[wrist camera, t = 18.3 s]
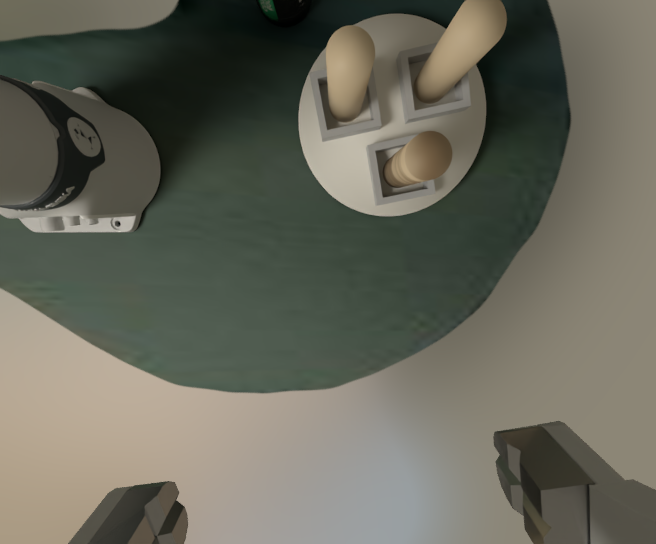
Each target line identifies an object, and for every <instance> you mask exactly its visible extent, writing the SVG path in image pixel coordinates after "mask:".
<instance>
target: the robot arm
mask: <svg viewBox="0 0 656 544" xmlns="http://www.w3.org/2000/svg"><path fill="white" fill-rule="evenodd" d="M159 181H160V160H159V155H158V152H157V149H156V146H155V144H154V142H153V140H152V138H151V136H150V135H149V133H148V132H147V131H146V129H145V128H144V127H143V126H142V125H141V124H140V123H139V122H138V121H137V120H136V119H134V118H133V117H132V116H130V115H129V114H127V113H125V112H123V111H121V110H119V109H116V108H114V107H112V106H110V105H108V104H106V103H105V102H104V101H103V100H102V99H101V98H100V97H99V96H98V95H97V94H96V93H95V92H93V91H92V90H90V89H87V88H84V87H78V88H76V89H74V90H72V91H70V90H67V89H64V88H61V87H57V86H54V85H51V84H48V83H45V82H41V81H33V82H32V84H29V83H26V82H24V81H21V80H17V79H14V78H13V79H12V78H9V77H5V76H2V75H0V214H1V215H3V216H4V217H7V218H19V219H20V220H21V222H22V223H23V224H24V225H25V226H26V227H28V228H29V229H30V230H31V231H33V232H133V231H135V230H136V229H137V227H138V225H139V222H140V218H141V214H142V212H143V210H144V209H145V207H146V206H147V205H148V204H149V202H150V201H151V200H152V198H153V197H154V195H155V193H156V191H157V188H158V185H159ZM118 221H119V222H120V223H121V225H120V226H119V225H118ZM494 446H495V448H496V449H497V451H498V452H499V454H500V456H499V457H498V459H497V460H496V467H497V474H498V477H499V480H500V483H501V487H502V489H503V491H504V493H505V495H506V497H507V499H508V501H509V503H510V504H511V506H512V508H513V509H514V510H516V511H517V512H519V513H520V514H521V515H523V516H524V525H525V530H526V532H527V533H528V535H529V537H530V539H531V540H532V542H533V543H534V544H656V490H655V489H652V488H650V487H648V486H646V485H643V484H642V483H639V482H637V481H635V480H624V479H623V478H622V477H621V476H620V475H619V474H618V473H617V472H616V471H615V470H614V469H613V468H612V467H611V466H610V465H608V464H607V463H606V462H605V461H604V460H603V459H602V458H601V457H600V456H599V455H598V454H597V453H596V452H595V451H593V450H592V449H591V448H590V447H589V446H588V445H587V444H586V443H585V442H584V441H583V440H582V439H581V438H580V437H579V436H578V435H577V434H575V433H574V432H573V431H572V430H571V429H570V428H569V427H568V426H567V425H566V424H565V423H563V422H560V421H556V422H550V423H545V424H539V425H537V426H536V425H534V426H528V427H521V428H515V429H509V430H503V431H497V432H495V433H494ZM178 494H179V491H178V489H177V486H176V484H175V482H169V481H168V482H159V483H151V484H143V485H135V486H131V487H122V488H116V489H114V490H112V491H111V492H109V493H108V494H107V495H106V497H105V498H104V499H103V500H102V502H101V503H100V504H99V505H98V507H97V508H96V509H95V511H94V512H93V513H92V514H91V516H90V517H89V518H88V519H87V521H86V522H85V523H84V524H83V526H82V527H81V528H80V529H79V531H78V532H77V533H76V535H75V536H74V537H73V538H72V540H71V541H70V542H69V543H68V544H184V541H185V539H186V533H187V528H188V520H187V519H188V518H187V512H186V510H185V507H184V506H183V505H181V504H180V503H179V502H178V501H176V499H177V497H178Z"/></svg>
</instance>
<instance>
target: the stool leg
mask: <svg viewBox="0 0 656 544" xmlns="http://www.w3.org/2000/svg"><path fill="white" fill-rule="evenodd" d="M451 161H452V147H451V144H450V142H449V141H448V139H447V138H446V137H445V136H444V135H443V134H441V133H439V132H436V131H425V132H422V133H420V134H418V135H417V136H415V137H414V138H413V139H412V140H411V141H409V142H408V143H407V144H406V145H405V146H404V147H402V148H401V149H400V150H399V151H398V152H396V153H395V154H394V155H393V156H392V157H391V158H389V159H388V160H387V161H386V163H385V164H384V167H383V172H382V173H383V178H384V180H385V182H386V183H387V184H388V185H389V186H391V187H394V188H401V187H405V186H409V185H413V184H417V183H421V182H425V181H429V180H433V179H436V178H438V177H440V176H441V175H443V174H444V173H445V172H446V170H447V169H448V168H449V166H450V164H451Z"/></svg>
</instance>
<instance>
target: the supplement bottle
mask: <svg viewBox="0 0 656 544" xmlns="http://www.w3.org/2000/svg"><path fill="white" fill-rule="evenodd" d="M256 2H257V4H258V7H259V9H260V11H261V13H262V14H263V16H264V17H265V18H266V19H267V20H268V21H269V22H271V23H272V24H274V25H276V26H280V27H290V26H293V25H296V24H297V23H299V22H300V21H301V20H302V19H303V18H304V17H305V16H306V15H307V13H308V11H309V9H310V6H311V2H312V0H256Z"/></svg>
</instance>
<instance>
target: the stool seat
mask: <svg viewBox="0 0 656 544" xmlns="http://www.w3.org/2000/svg"><path fill="white" fill-rule="evenodd" d="M506 22H507V15H506V10H505V7H504V5H503V3H502V2H501V1H500V0H466V1H465V2H464V3H463V4H462V6H461V7H460V9H459V10H458V12H457V13H456V15H455V16H454V18H453V20H452V21H451V23H450V24H449V26H448V28H447V29H445V28H444V27H442V26H441V25H439V24H437V23H435V22H433V21H431V20H428V19H426V18H422V17H419V16H415V15H408V14H385V15H379V16H375V17H372V18H369V19H365V20H363V21H361V22H359V23H357V24H355V25H349V26H344V27H342V28H340V29H338V30H337V31H336V32H334V34H333V35H332V36H331V37H330V39H329V41H328V44H327V47H326V48H325V49H324V50H323V51H322V52H321V54H320V55H319V57H318V58H317V60H316V61H315V63H314V64H313V66H312V68H311V70H310V72H309V74H308V76H307V79H306V82H305V84H304V87H303V90H302V95H301V99H300V105H299V115H298V118H299V134H300V141H301V145H302V149H303V153H304V155H305V158H306V160H307V163H308V165H309V167H310V169H311V171H312V172H313V174H314V176H315V177H316V179H317V180H318V181H319V183H320V184H321V185H322V187H323V188H324V189H325V190H326V191H327V192H328V193H329V194H330V195H331V196H333V197H334V198H335V199H336V200H338V201H339V202H341V203H342V204H344V205H346V206H347V207H349V208H352V209H354V210H356V211H359V212H363V213H366V214H370V215H377V216H398V215H405V214H409V213H413V212H416V211H419V210H421V209H424V208H426V207H428V206H430V205H432V204H434V203H435V202H437V201H439V200H440V199H441V198H443V197H444V196H445V195H447V194H448V193H449V192H450V191H451V190H452V189H453V188H454V187H455V186H456V185H457V184H458V183H459V182H460V181H461V179H462V178H463V177H464V176H465V174H466V173H467V171H468V170H469V168H470V167H471V165H472V163H473V161H474V159H475V157H476V155H477V153H478V150H479V148H480V145H481V142H482V138H483V134H484V129H485V122H486V97H485V91H484V86H483V82H482V79H481V75H480V73H479V70H478V68H477V66H476V63H477V62H478V61H479V60H480V59H481V58H482V57H483V56H484V55H485V54H486V53H487V52H488V51H489V50H490V49H491V48H492V47H493V46H494V45H495V44H496V43H497V42H498V41H499V40H500V39H501V37H502V35H503V33H504V31H505V28H506ZM425 131H436V132H439V133H441V134H443V135H444V136H445V137H446V138H447V139H448V141H449V142H450V144H451V147H452V161H451V164H450V166H449V168H448V169H447V170H446V172H445V173H444V174H443V175H441V176H440V177H438V178H436V179H433V180H429V181H425V182H421V183H417V184H413V185H409V186H405V187H401V188H394V187H391V186H389V185H388V184H387V183H386V182H385V180H384V178H383V173H382V172H383V167H384V164H385V163H386V161H387V160H388V159H389V158H391V157H392V156H393V155H394V154H395V153H396V152H398V151H399V150H400V149H401V148H402V147H404V146H405V145H406V144H407V143H408V142H409V141H411V140H412V139H413V138H414V137H415V136H417V135H418V134H420V133H422V132H425Z"/></svg>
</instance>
